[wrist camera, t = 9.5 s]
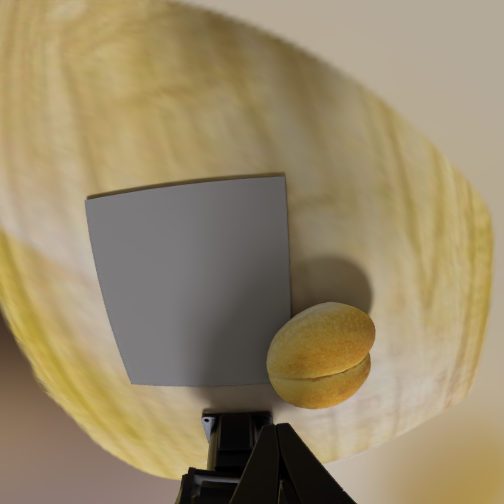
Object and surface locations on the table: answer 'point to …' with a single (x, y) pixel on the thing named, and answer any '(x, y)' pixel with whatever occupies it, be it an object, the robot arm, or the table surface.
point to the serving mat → (194, 279)
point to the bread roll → (321, 355)
